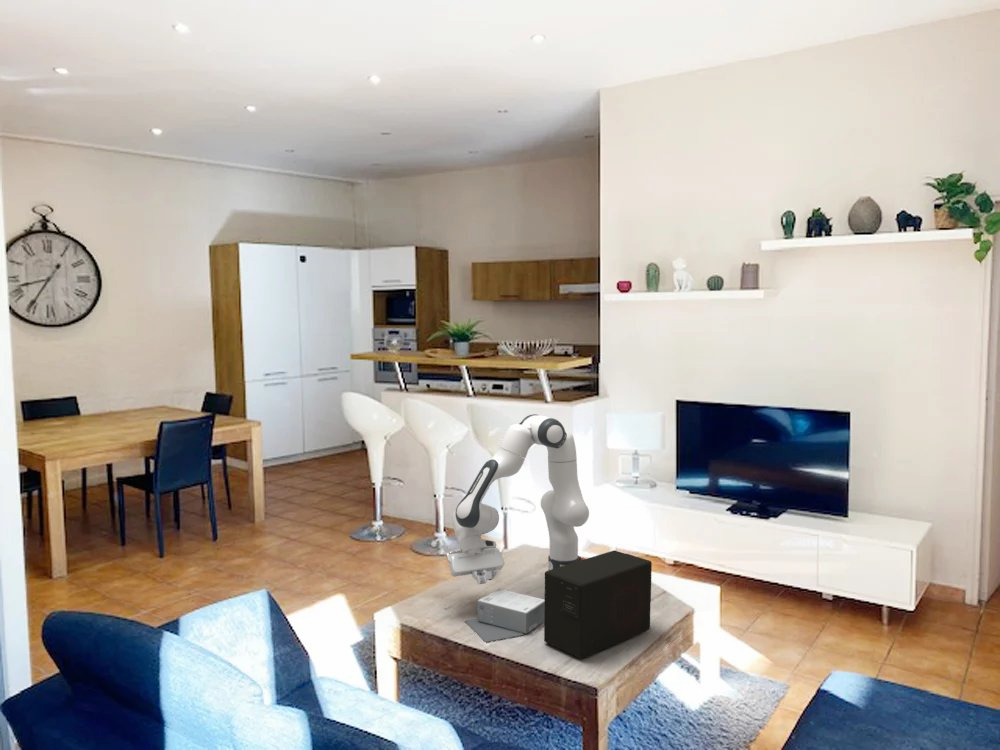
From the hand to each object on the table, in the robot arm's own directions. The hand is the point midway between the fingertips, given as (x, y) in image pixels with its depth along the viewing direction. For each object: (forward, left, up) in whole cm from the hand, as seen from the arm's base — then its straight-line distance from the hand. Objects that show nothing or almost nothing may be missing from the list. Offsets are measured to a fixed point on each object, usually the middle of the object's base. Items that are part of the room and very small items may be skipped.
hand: (482, 583), depth 275 cm
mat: (0, +10, -13) cm, 16 cm away
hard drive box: (-3, -1, -9) cm, 9 cm away
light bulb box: (-19, -41, -13) cm, 47 cm away
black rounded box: (-29, +30, -13) cm, 44 cm away
